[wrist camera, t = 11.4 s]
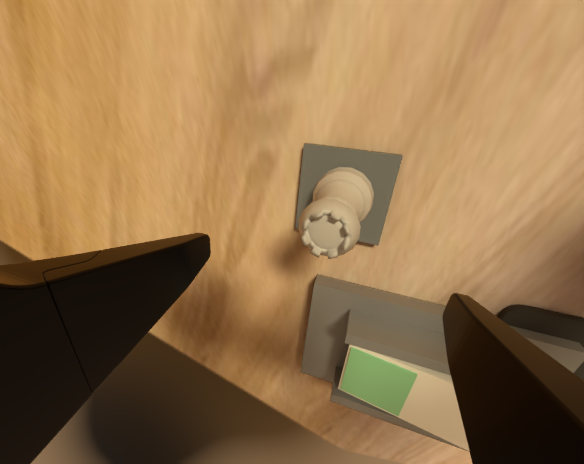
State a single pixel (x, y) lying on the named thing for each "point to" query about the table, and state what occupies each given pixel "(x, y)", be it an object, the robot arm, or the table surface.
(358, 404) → the grey stand
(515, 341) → the robot arm
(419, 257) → the table surface
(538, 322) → the phone
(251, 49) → the table surface
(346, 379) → the rocker
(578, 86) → the table surface
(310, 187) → the rubber pad
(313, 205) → the rook chess piece
